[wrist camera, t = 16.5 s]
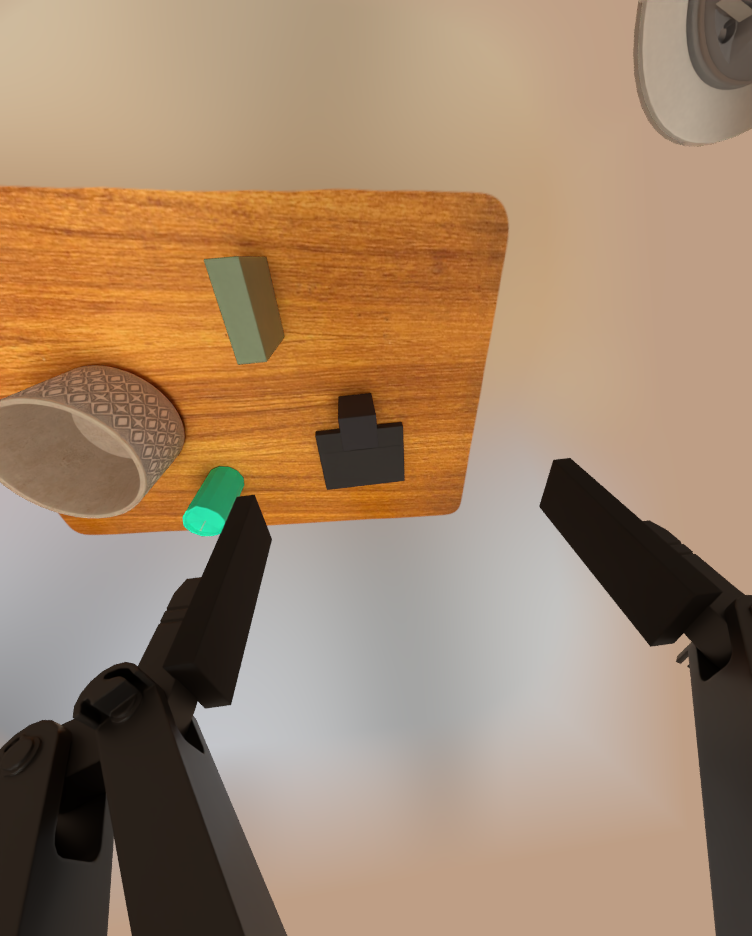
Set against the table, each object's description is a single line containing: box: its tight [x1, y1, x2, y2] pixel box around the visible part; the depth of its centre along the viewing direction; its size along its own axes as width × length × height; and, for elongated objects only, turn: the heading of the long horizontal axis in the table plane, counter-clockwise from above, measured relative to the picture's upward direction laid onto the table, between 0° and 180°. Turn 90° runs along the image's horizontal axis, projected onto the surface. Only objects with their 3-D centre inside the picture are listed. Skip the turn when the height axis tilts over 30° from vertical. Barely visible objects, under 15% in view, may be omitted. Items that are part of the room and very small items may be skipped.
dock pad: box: [315, 422, 404, 490], centre depth 53 cm, size 14×11×2 cm
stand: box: [204, 256, 284, 365], centre depth 34 cm, size 3×9×12 cm, turn 4°
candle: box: [183, 466, 244, 536], centre depth 49 cm, size 6×6×12 cm
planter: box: [0, 365, 185, 518], centre depth 41 cm, size 16×16×13 cm
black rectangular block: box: [338, 393, 379, 451], centre depth 46 cm, size 5×8×8 cm, turn 4°
